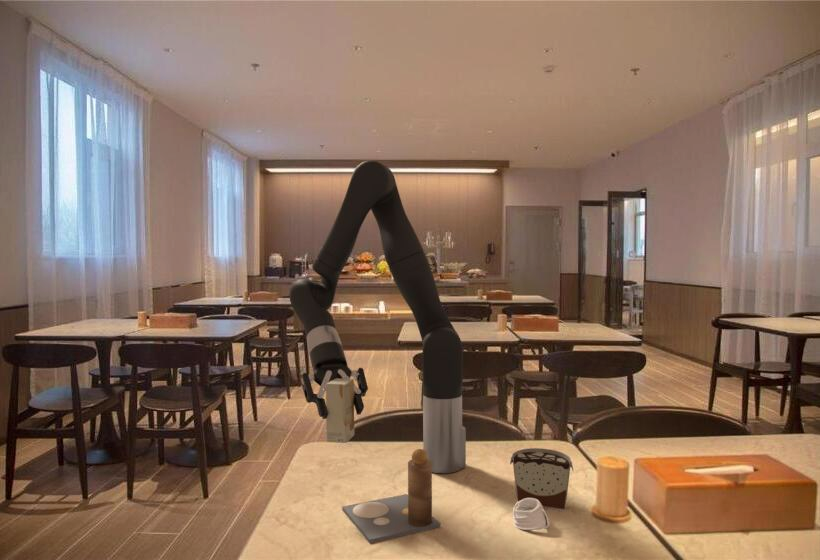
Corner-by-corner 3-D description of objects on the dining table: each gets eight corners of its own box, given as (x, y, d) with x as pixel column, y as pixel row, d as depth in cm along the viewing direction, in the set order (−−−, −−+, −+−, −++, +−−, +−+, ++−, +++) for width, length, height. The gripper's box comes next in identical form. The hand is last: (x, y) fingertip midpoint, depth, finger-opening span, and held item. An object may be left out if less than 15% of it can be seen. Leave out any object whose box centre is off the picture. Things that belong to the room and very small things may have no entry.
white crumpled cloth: (555, 538, 104) (559, 512, 103) (520, 537, 103) (523, 511, 102) (539, 515, 112) (542, 491, 111) (505, 515, 111) (508, 490, 110)
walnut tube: (425, 514, 110) (425, 444, 110) (436, 523, 106) (435, 451, 106) (404, 518, 108) (404, 447, 108) (414, 528, 104) (414, 454, 104)
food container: (575, 499, 118) (575, 450, 118) (573, 511, 112) (573, 460, 112) (514, 491, 122) (514, 444, 122) (509, 503, 116) (509, 454, 116)
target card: (406, 496, 120) (406, 493, 120) (440, 526, 106) (440, 523, 106) (342, 509, 114) (342, 506, 114) (369, 543, 100) (369, 539, 100)
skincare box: (346, 444, 118) (345, 384, 117) (325, 442, 119) (324, 383, 118) (355, 434, 124) (354, 378, 124) (336, 433, 125) (335, 377, 124)
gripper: (296, 342, 124) (312, 409, 114) (359, 338, 130) (379, 401, 120) (291, 363, 129) (305, 428, 119) (352, 358, 135) (371, 419, 125)
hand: (343, 414), depth 120 cm, fingers closed on skincare box, 7 cm apart
